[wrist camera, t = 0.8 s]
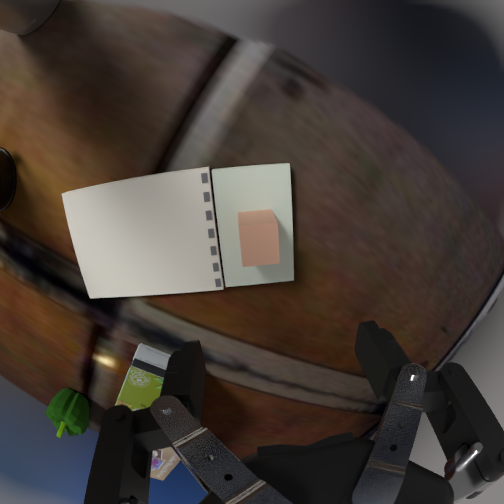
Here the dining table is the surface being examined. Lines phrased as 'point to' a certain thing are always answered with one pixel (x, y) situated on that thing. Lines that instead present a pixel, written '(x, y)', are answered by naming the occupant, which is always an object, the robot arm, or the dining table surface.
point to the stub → (255, 223)
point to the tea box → (148, 398)
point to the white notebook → (146, 235)
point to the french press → (6, 179)
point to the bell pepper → (69, 412)
